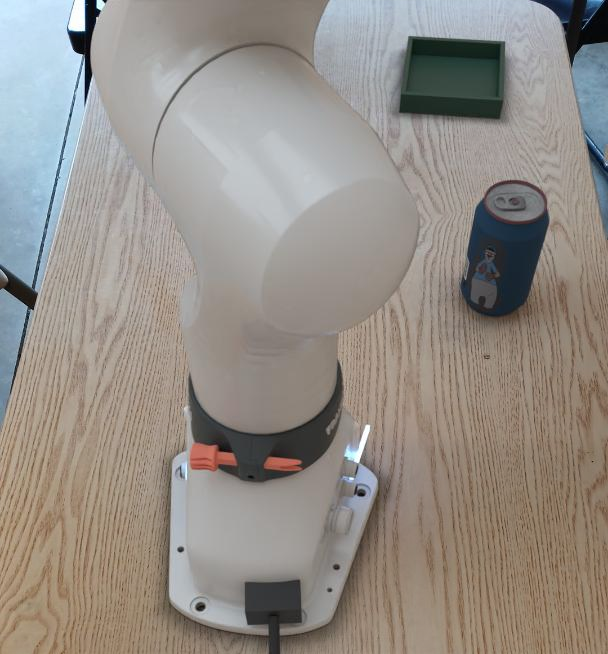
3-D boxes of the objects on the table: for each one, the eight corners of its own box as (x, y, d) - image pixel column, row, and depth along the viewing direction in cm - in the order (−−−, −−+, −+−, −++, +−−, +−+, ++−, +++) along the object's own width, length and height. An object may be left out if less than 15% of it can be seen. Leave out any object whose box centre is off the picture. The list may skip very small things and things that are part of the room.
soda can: (522, 274, 88) (550, 175, 77) (529, 323, 84) (558, 226, 74) (456, 273, 88) (474, 174, 77) (460, 322, 85) (480, 226, 74)
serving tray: (499, 119, 101) (503, 100, 98) (399, 112, 102) (400, 93, 99) (502, 60, 106) (505, 41, 104) (406, 54, 107) (408, 35, 105)
